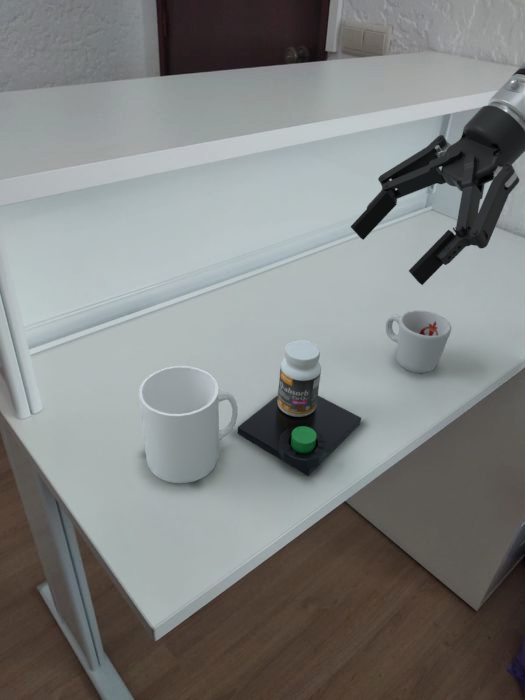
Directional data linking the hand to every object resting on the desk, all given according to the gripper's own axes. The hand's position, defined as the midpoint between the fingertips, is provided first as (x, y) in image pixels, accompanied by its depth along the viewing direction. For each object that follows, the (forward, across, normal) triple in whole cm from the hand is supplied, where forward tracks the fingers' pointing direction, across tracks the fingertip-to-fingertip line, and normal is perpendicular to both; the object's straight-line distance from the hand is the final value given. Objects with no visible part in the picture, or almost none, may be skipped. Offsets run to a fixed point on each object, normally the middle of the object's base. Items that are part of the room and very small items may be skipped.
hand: (383, 254), depth 74 cm
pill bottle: (+23, 0, +8) cm, 25 cm away
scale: (+25, +3, +8) cm, 27 cm away
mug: (+36, +3, -2) cm, 36 cm away
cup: (+8, -5, +26) cm, 27 cm away
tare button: (+25, +9, +5) cm, 27 cm away
